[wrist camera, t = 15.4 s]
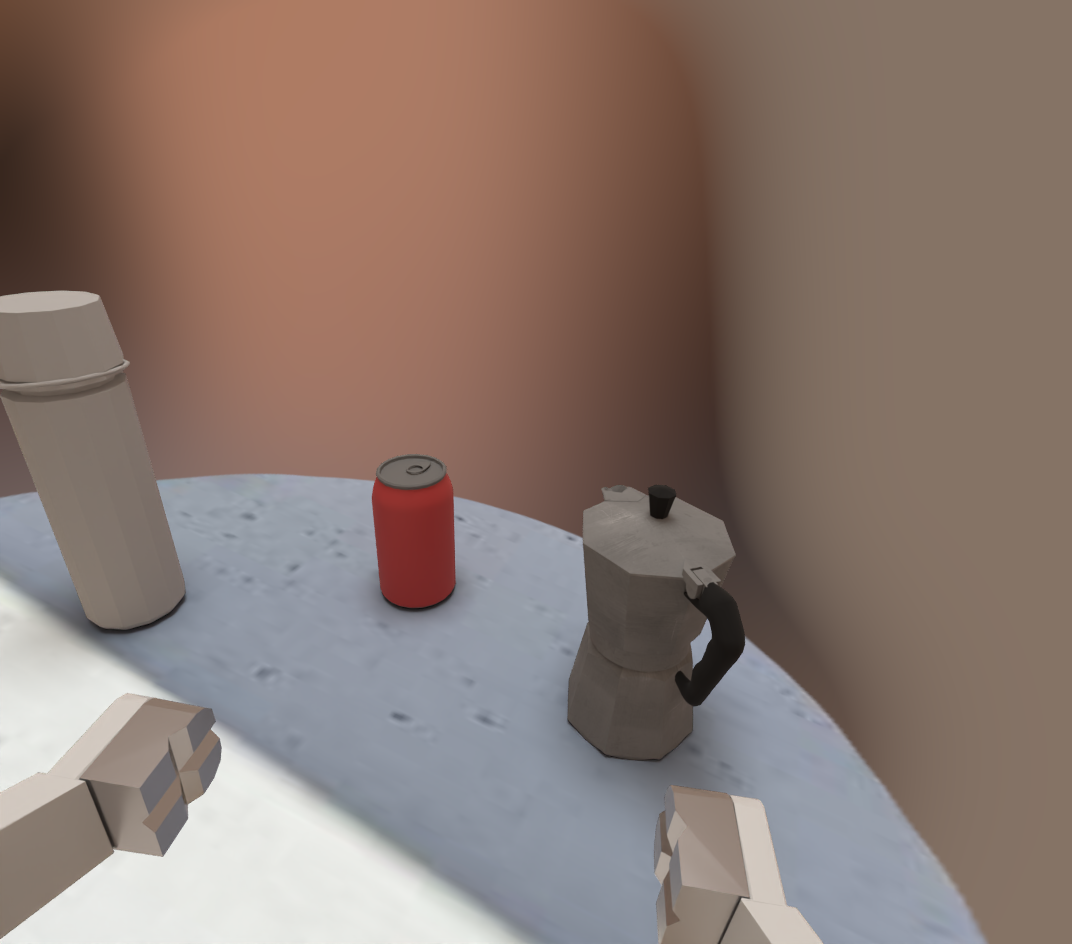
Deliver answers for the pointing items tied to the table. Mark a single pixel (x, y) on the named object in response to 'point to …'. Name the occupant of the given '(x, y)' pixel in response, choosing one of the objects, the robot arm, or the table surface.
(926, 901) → the table surface
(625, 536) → the coffeepot
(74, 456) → the water bottle
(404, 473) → the beer can
